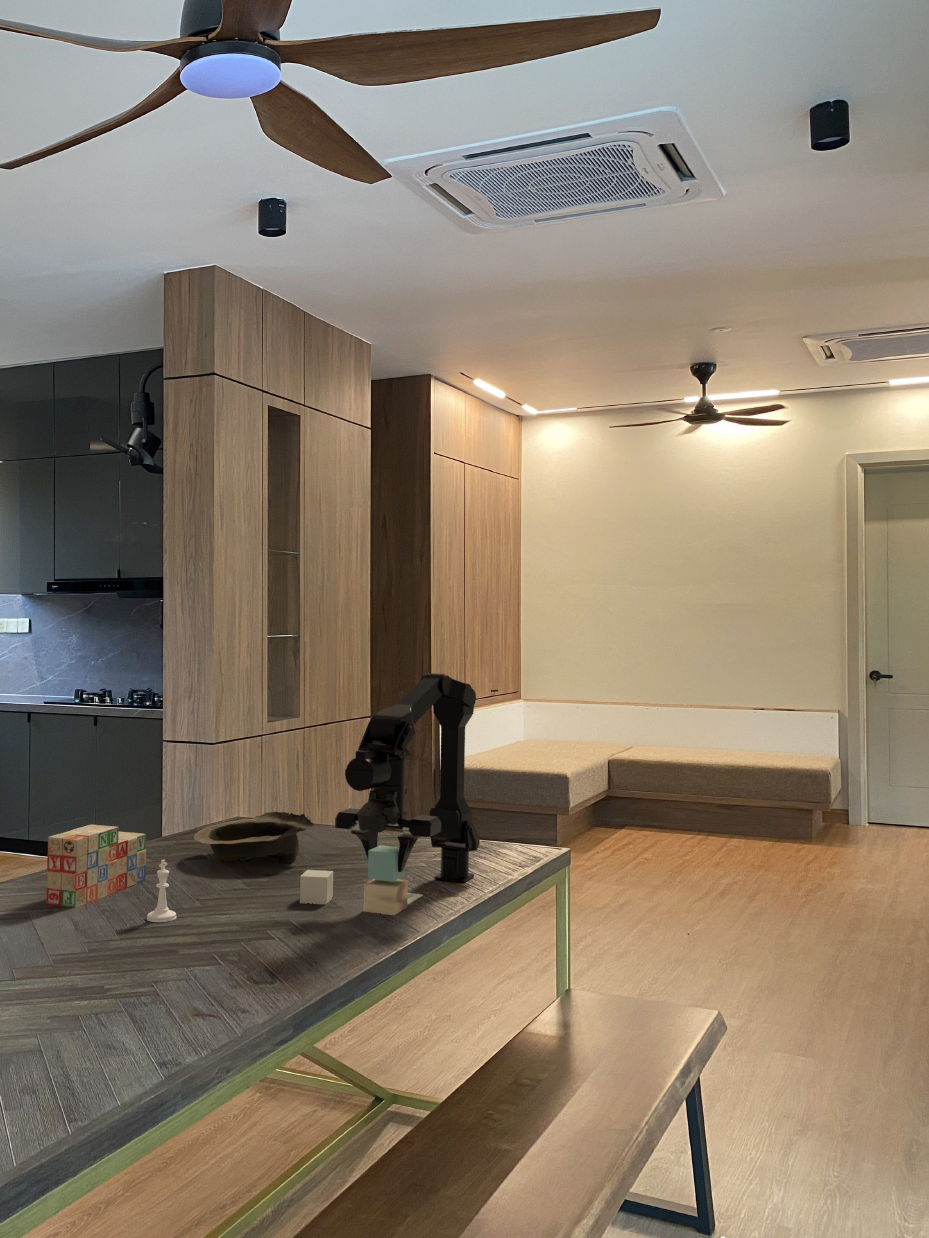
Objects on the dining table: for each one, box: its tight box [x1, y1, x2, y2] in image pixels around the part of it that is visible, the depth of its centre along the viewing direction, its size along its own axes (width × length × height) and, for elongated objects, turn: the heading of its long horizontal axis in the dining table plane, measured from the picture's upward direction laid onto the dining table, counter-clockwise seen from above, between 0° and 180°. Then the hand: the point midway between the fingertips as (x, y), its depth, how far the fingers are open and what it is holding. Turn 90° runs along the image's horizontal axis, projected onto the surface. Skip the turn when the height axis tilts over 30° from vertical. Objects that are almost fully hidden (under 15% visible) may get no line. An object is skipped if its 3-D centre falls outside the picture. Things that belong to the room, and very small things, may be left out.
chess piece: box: [146, 859, 177, 923], centre depth 182 cm, size 5×5×10 cm
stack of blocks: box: [46, 824, 147, 909], centre depth 199 cm, size 21×6×12 cm, turn 163°
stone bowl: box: [193, 811, 315, 864], centre depth 228 cm, size 25×25×9 cm
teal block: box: [367, 844, 406, 882], centre depth 192 cm, size 5×5×5 cm
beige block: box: [299, 869, 334, 905], centre depth 197 cm, size 5×5×5 cm
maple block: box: [362, 878, 409, 916], centre depth 192 cm, size 6×6×5 cm
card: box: [407, 892, 424, 905], centre depth 200 cm, size 7×7×1 cm
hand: (386, 870), depth 192 cm, fingers open, 5 cm apart
